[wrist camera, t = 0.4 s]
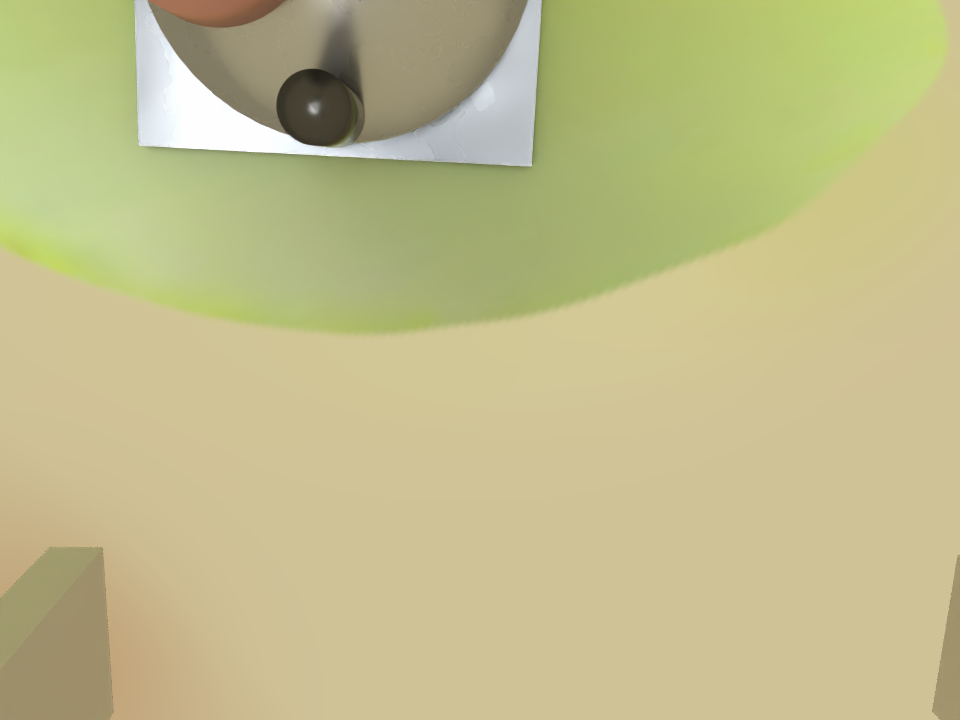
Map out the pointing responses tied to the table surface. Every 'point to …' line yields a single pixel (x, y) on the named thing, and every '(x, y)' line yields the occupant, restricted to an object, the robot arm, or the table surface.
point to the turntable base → (452, 138)
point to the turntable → (348, 63)
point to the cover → (218, 11)
